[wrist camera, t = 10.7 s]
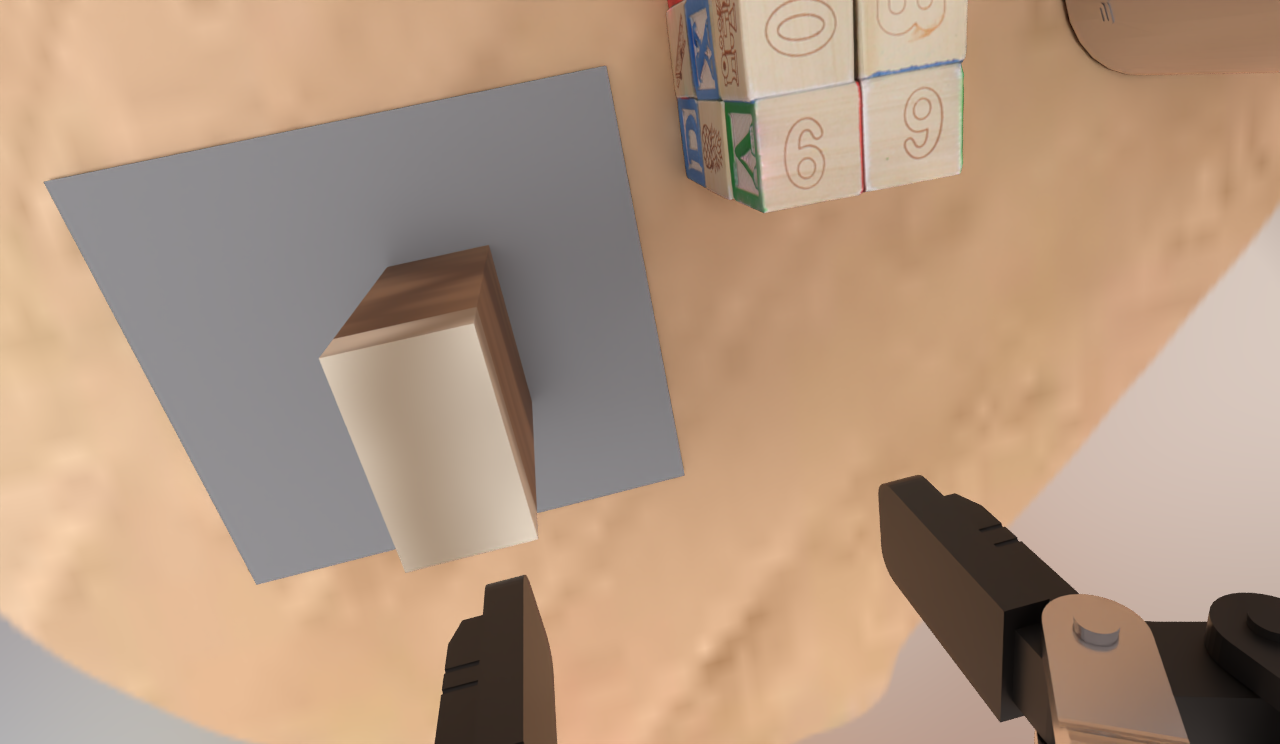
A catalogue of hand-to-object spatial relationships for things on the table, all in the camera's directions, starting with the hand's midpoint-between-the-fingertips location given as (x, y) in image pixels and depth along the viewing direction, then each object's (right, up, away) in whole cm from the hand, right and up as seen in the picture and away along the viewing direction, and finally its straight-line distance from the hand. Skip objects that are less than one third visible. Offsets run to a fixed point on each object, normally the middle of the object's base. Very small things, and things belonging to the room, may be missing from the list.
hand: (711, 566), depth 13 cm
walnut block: (-9, +5, +15) cm, 18 cm away
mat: (-11, +5, +15) cm, 19 cm away
